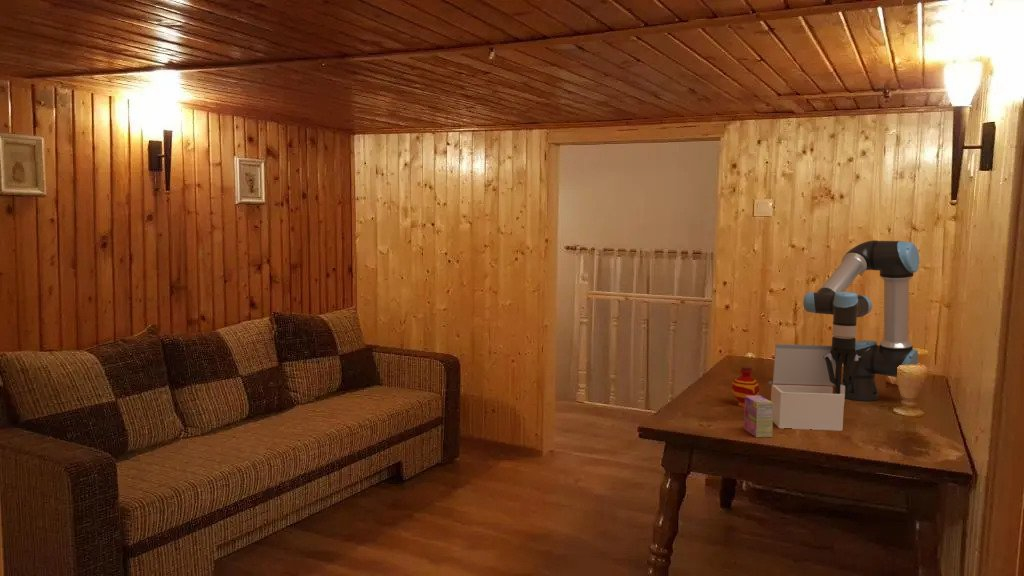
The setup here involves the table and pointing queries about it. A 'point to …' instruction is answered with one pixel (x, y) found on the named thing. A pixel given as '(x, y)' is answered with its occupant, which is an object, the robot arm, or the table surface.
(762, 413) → the box
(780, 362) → the box lid
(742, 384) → the potion bottle
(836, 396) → the white lidded container
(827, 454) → the table surface
